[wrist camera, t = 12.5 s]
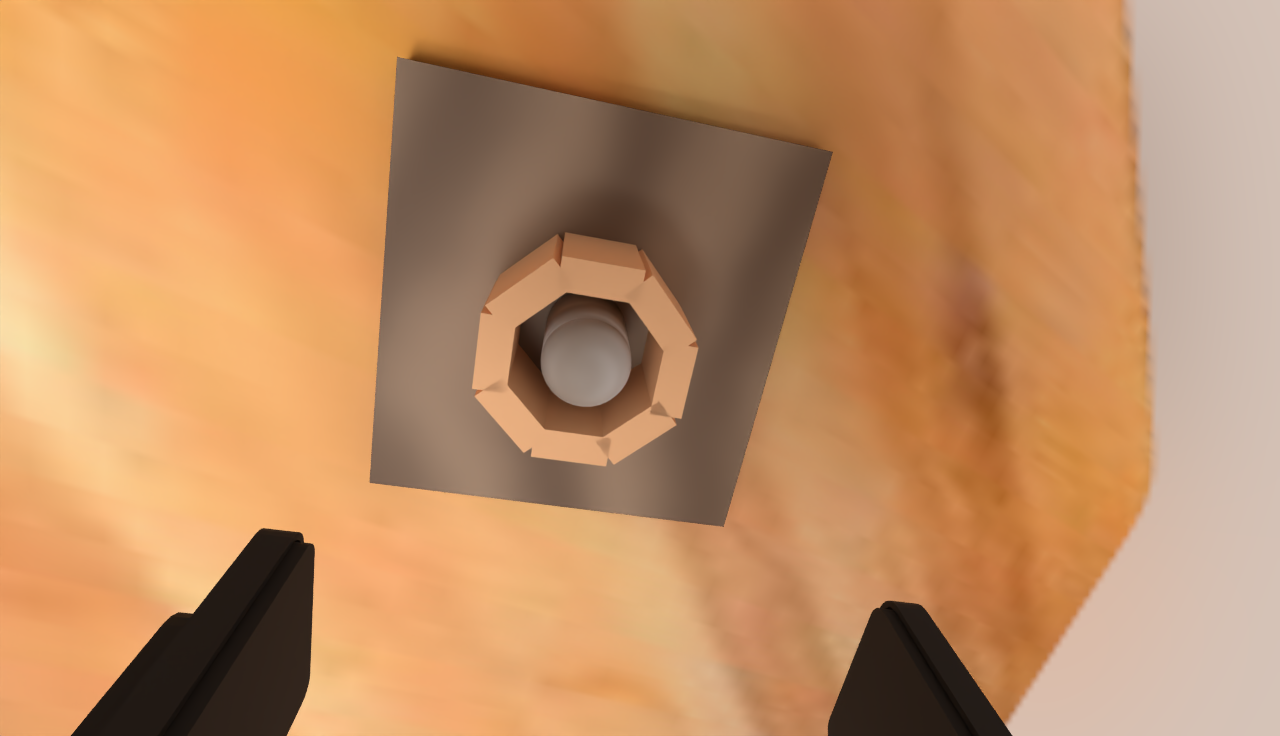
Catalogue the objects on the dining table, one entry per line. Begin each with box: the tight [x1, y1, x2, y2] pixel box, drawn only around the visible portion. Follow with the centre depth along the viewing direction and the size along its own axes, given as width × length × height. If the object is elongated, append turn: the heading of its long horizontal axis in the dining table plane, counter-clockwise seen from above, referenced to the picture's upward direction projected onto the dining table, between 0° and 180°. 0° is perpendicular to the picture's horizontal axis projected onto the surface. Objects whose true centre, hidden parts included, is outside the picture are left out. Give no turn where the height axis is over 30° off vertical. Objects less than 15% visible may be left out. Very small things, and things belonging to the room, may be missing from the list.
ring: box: [472, 232, 698, 466], centre depth 23 cm, size 7×7×4 cm
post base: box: [370, 57, 833, 527], centre depth 23 cm, size 15×16×6 cm
